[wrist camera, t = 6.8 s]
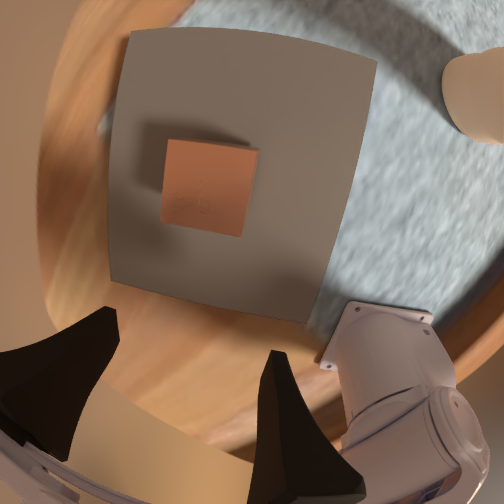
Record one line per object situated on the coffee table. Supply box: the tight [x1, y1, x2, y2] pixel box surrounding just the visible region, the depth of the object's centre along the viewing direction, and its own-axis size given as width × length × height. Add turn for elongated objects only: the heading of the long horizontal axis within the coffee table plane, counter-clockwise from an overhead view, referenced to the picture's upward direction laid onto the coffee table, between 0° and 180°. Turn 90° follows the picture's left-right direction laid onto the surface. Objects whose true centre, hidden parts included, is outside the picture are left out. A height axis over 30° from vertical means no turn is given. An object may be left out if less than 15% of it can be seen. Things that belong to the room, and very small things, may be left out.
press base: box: [108, 27, 377, 324], centre depth 16 cm, size 15×18×3 cm
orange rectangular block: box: [160, 137, 260, 238], centre depth 15 cm, size 4×4×6 cm
